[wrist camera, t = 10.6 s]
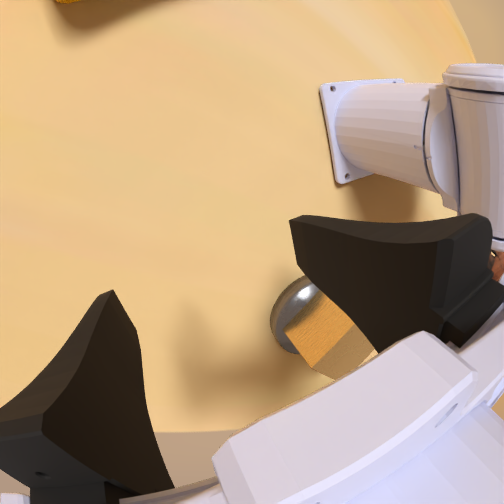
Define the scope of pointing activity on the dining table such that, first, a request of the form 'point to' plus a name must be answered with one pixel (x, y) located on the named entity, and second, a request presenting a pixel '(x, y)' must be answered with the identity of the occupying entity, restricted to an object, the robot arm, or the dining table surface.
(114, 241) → the dining table surface
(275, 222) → the dining table surface
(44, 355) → the dining table surface
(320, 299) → the wooden cube
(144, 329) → the dining table surface
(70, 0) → the element tile
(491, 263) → the brown arched piece
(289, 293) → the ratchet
